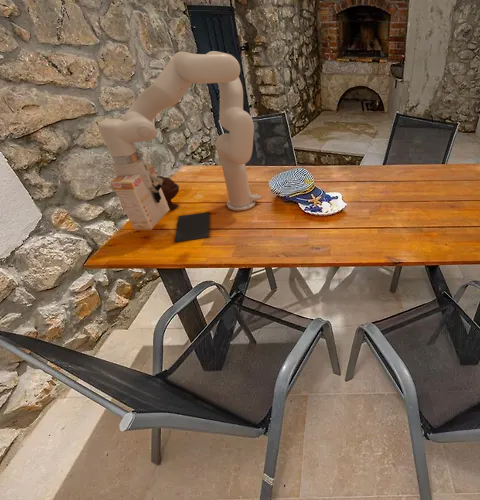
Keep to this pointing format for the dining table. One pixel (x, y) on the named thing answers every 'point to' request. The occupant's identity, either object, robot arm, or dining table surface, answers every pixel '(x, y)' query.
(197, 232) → the mat
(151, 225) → the coffeecake box
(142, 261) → the dining table surface
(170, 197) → the ice cream bowl
